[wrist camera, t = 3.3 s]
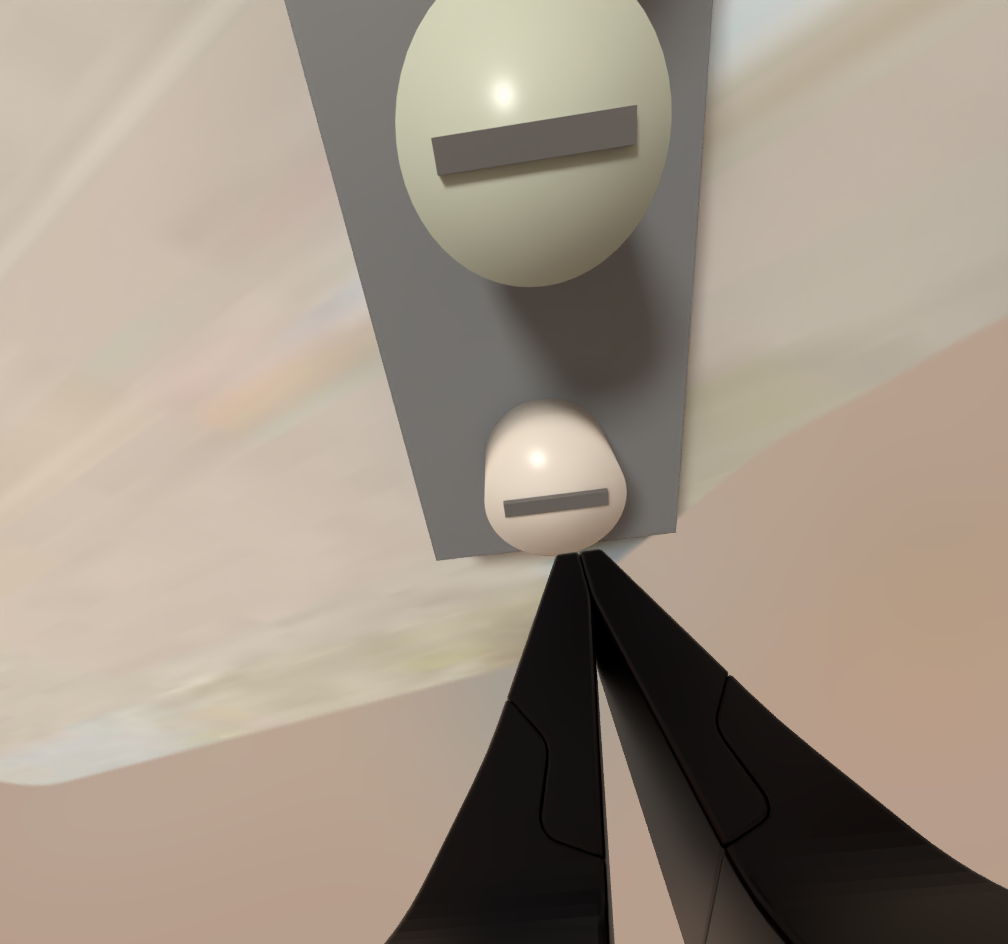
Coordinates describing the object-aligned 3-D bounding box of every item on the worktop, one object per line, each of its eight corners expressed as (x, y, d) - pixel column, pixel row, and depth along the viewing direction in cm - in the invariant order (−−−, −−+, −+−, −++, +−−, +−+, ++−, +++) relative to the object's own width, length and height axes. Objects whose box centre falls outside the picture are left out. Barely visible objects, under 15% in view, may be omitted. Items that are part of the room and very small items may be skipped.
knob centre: (591, 46, 12) (684, -89, 6) (596, 238, 14) (669, 270, 8) (420, 75, 12) (357, -30, 6) (452, 259, 14) (426, 305, 9)
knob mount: (691, -747, 9) (799, -1249, 6) (651, 486, 22) (675, 532, 19) (168, -618, 9) (7, -1019, 6) (443, 512, 23) (436, 560, 20)
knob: (586, 358, 19) (628, 431, 13) (590, 453, 21) (628, 551, 15) (478, 373, 19) (473, 451, 13) (494, 465, 21) (495, 566, 16)
